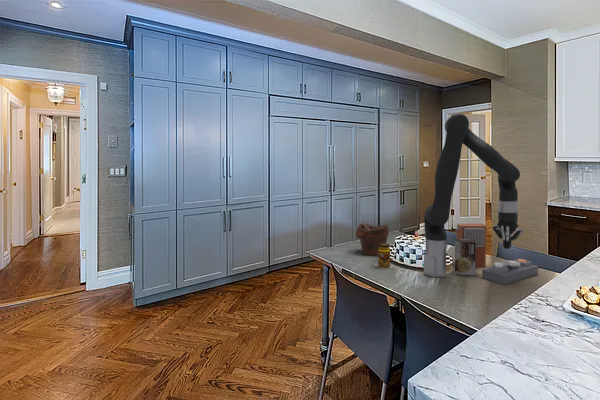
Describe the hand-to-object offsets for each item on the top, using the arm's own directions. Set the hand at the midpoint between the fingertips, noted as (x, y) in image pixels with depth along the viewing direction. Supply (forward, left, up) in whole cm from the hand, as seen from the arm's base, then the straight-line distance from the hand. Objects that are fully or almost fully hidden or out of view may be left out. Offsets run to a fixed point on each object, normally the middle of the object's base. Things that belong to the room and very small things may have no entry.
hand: (507, 248), depth 153 cm
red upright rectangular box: (+3, +20, -14) cm, 25 cm away
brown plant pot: (-22, +67, -14) cm, 72 cm away
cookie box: (-10, +14, -14) cm, 22 cm away
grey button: (-6, 0, -8) cm, 10 cm away
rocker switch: (+3, 0, -8) cm, 9 cm away
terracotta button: (+12, 0, -10) cm, 15 cm away
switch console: (+3, 0, -14) cm, 14 cm away
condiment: (-35, +43, -14) cm, 57 cm away
